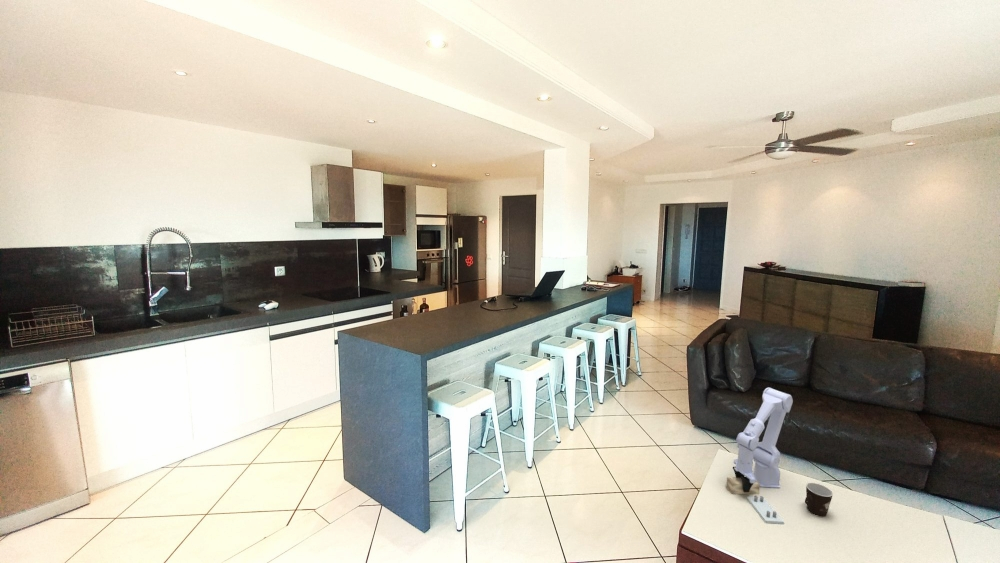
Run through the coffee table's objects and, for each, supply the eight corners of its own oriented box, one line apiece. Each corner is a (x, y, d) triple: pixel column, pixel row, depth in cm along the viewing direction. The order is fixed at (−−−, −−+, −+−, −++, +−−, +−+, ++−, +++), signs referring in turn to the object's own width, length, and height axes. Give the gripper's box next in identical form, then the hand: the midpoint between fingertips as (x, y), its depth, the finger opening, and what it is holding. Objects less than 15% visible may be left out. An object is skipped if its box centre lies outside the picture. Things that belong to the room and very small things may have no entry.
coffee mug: (820, 504, 167) (823, 483, 165) (835, 519, 158) (838, 497, 157) (791, 502, 168) (793, 481, 166) (804, 517, 159) (807, 495, 158)
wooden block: (753, 488, 178) (754, 477, 177) (759, 494, 173) (760, 484, 173) (726, 487, 178) (727, 477, 178) (731, 494, 174) (732, 483, 173)
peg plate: (746, 498, 170) (747, 492, 170) (763, 499, 170) (764, 493, 169) (765, 522, 157) (766, 516, 156) (783, 524, 156) (784, 517, 156)
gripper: (727, 450, 181) (725, 476, 183) (744, 469, 167) (741, 498, 169) (743, 450, 181) (741, 477, 182) (761, 470, 166) (759, 499, 168)
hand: (742, 487), depth 176 cm, fingers open, 5 cm apart
